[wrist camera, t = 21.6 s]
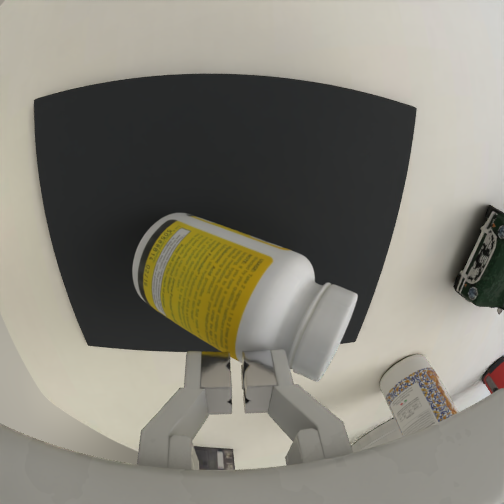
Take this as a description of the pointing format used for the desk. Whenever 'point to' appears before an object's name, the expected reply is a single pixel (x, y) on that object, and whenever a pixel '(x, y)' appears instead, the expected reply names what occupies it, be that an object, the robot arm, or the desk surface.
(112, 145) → the mat
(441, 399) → the bath foam
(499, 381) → the speaker
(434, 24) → the desk surface
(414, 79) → the desk surface
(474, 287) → the miniature car
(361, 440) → the dish
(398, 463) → the robot arm
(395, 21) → the desk surface
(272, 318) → the supplement bottle
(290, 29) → the desk surface
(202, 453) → the mini dv tape
